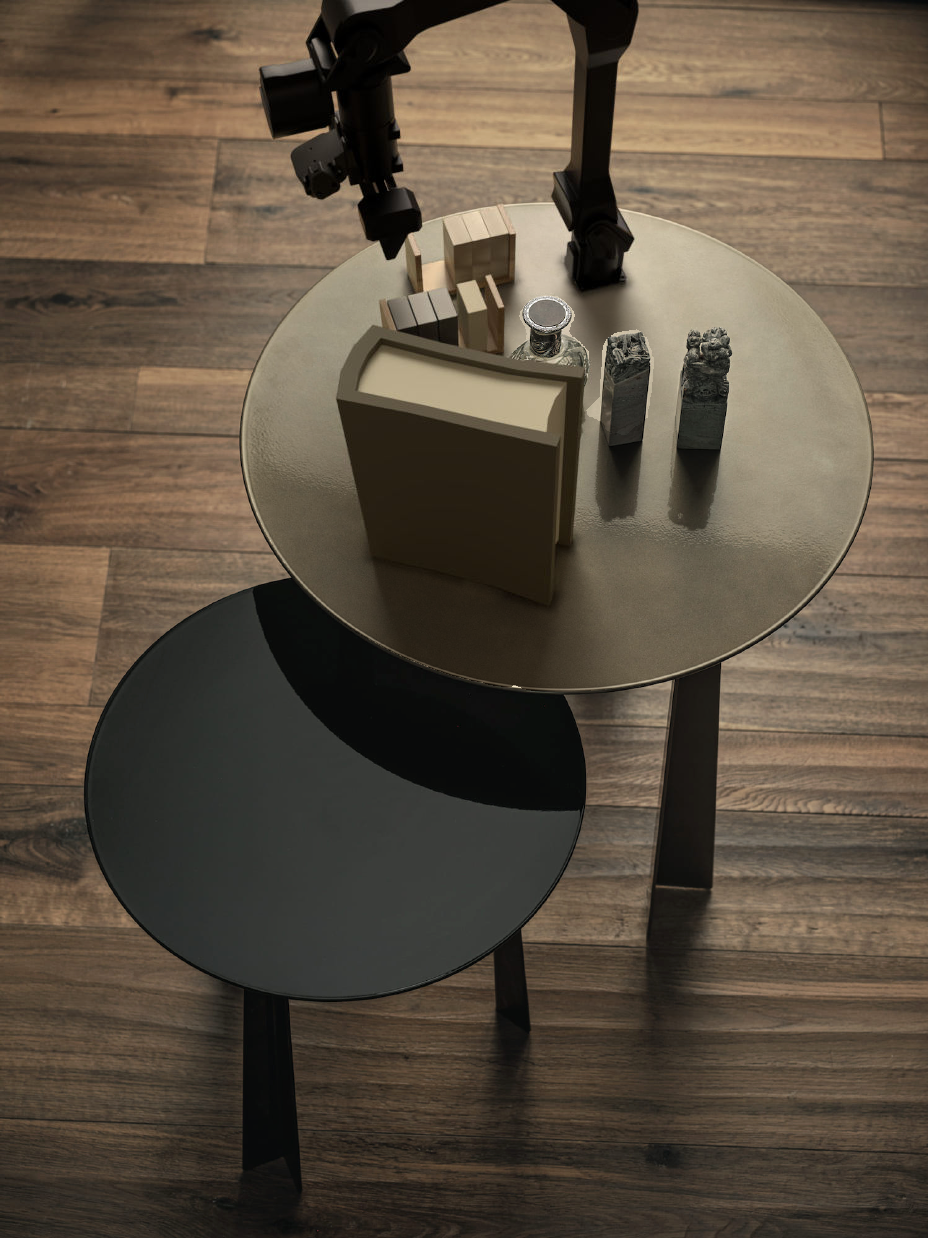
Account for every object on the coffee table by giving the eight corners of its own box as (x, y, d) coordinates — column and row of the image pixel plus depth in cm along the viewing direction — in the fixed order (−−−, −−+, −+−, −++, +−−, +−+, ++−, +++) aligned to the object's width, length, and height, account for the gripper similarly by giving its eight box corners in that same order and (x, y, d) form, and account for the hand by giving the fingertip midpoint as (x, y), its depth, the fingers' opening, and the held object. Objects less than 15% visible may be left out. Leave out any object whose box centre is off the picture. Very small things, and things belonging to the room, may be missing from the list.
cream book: (476, 321, 138) (475, 279, 132) (487, 350, 136) (487, 309, 129) (457, 325, 138) (456, 284, 131) (469, 354, 135) (468, 313, 129)
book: (365, 557, 123) (326, 392, 99) (394, 492, 127) (364, 318, 103) (549, 606, 119) (556, 446, 94) (572, 537, 123) (585, 367, 99)
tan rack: (490, 320, 139) (491, 274, 132) (504, 352, 136) (504, 306, 130) (384, 345, 137) (378, 299, 130) (395, 378, 135) (390, 333, 128)
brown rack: (501, 251, 145) (502, 203, 138) (514, 280, 142) (516, 233, 135) (407, 272, 143) (403, 225, 136) (418, 302, 141) (414, 256, 134)
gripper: (272, 73, 116) (295, 193, 130) (310, 188, 108) (331, 304, 121) (373, 52, 118) (386, 173, 131) (419, 164, 109) (427, 281, 123)
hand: (380, 231), depth 127 cm, fingers open, 9 cm apart
